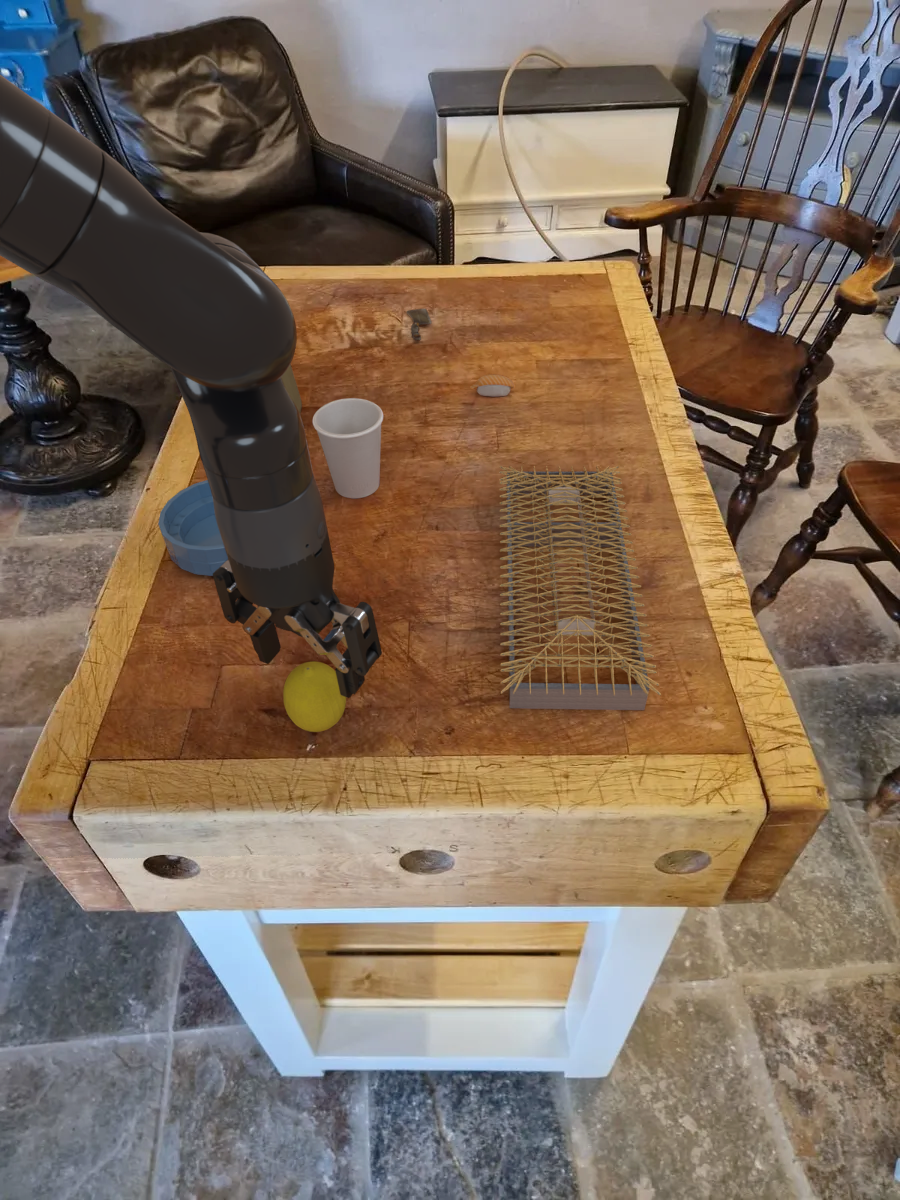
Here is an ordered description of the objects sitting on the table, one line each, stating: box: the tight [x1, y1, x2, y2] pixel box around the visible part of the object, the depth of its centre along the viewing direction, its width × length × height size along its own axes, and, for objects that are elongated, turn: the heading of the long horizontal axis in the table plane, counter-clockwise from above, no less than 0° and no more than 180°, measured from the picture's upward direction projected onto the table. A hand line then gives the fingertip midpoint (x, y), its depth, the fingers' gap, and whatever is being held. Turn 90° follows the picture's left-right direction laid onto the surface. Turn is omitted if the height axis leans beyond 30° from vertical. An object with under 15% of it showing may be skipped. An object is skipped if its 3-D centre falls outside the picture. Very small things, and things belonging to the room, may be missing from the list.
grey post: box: [406, 308, 433, 342], centre depth 131 cm, size 12×1×5 cm
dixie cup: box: [312, 397, 384, 499], centre depth 98 cm, size 8×8×10 cm
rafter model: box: [499, 465, 662, 711], centre depth 85 cm, size 35×14×6 cm, turn 178°
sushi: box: [469, 373, 516, 397], centre depth 115 cm, size 3×6×3 cm, turn 88°
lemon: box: [282, 661, 347, 733], centre depth 72 cm, size 6×6×8 cm
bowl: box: [157, 479, 228, 577], centre depth 92 cm, size 13×13×4 cm
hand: (310, 672), depth 70 cm, fingers open, 8 cm apart
